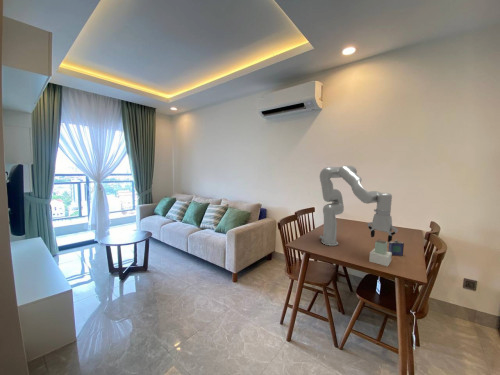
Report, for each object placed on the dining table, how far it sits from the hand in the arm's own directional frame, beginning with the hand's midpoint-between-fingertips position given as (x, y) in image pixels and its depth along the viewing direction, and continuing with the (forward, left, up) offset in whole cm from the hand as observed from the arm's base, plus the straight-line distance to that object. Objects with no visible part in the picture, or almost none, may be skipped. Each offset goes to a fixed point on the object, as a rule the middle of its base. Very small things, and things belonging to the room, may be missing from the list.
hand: (380, 239), depth 133 cm
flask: (+3, +19, -15) cm, 24 cm away
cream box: (+1, 0, -15) cm, 15 cm away
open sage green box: (0, 0, -9) cm, 9 cm away
